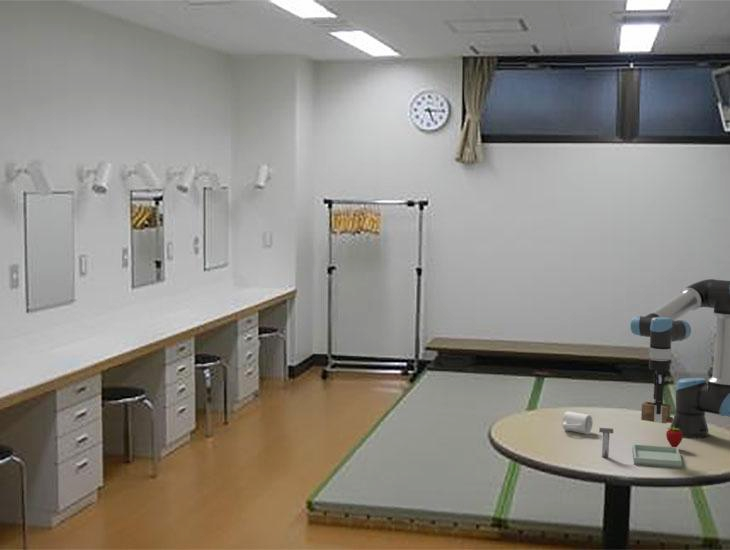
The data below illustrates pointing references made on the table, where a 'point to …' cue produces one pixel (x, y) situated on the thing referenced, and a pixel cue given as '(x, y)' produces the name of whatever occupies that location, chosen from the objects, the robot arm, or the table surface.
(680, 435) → the strawberry
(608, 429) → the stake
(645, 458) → the tray
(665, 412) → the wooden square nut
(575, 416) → the mug
